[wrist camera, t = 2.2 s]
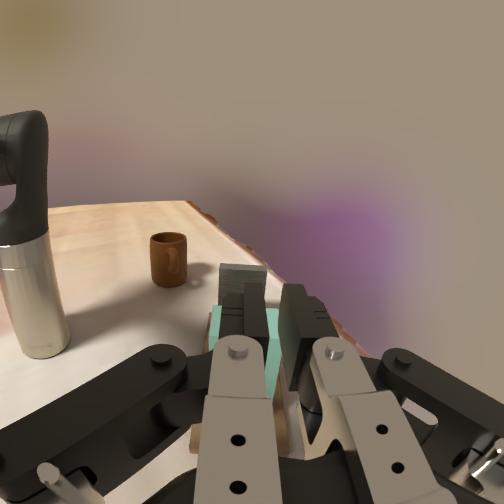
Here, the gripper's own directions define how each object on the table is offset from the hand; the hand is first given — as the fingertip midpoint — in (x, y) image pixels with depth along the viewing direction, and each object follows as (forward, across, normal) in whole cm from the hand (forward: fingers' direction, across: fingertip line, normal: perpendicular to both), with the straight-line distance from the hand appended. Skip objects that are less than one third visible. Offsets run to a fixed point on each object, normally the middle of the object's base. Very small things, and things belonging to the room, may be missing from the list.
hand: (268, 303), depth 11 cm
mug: (+43, +14, +22) cm, 50 cm away
